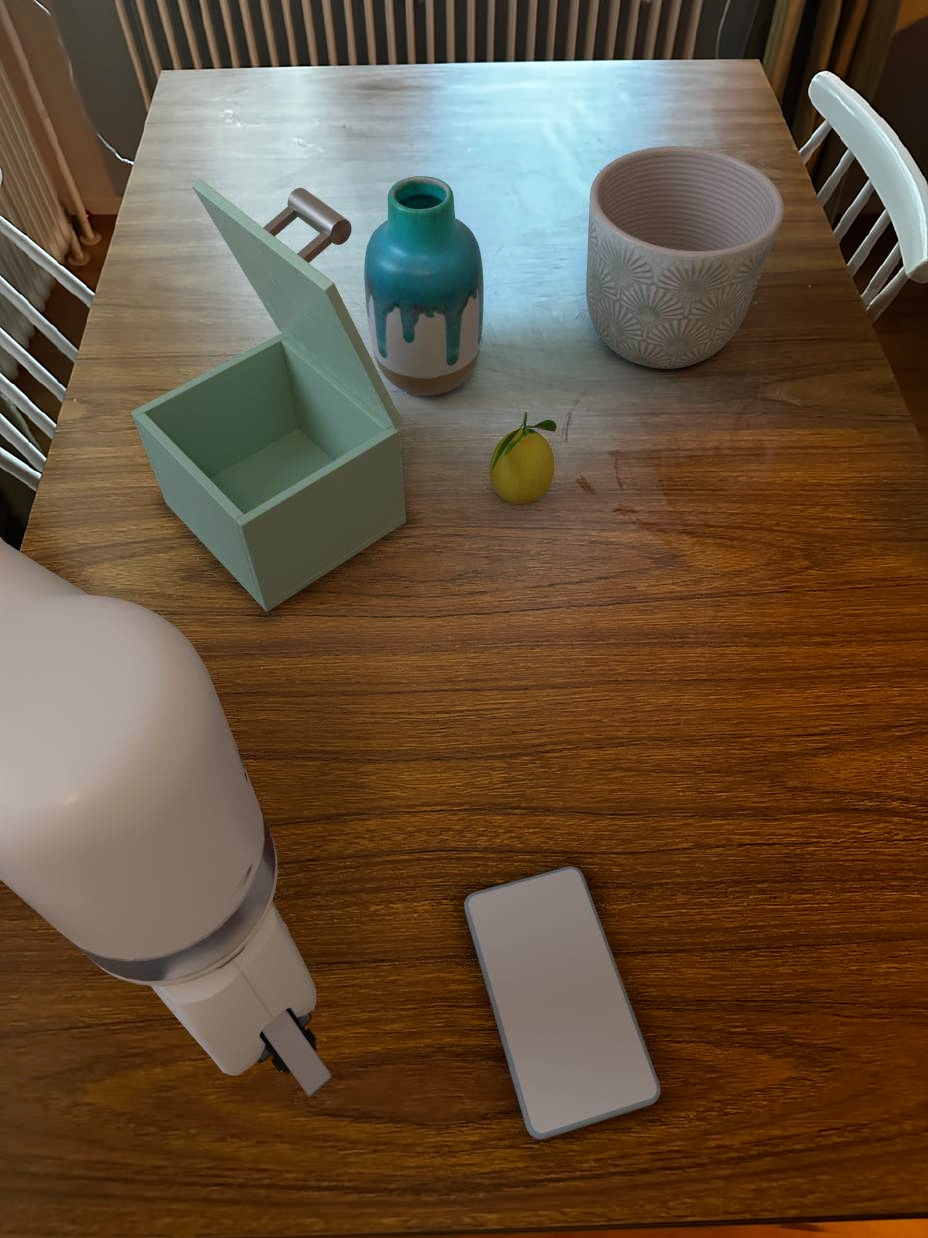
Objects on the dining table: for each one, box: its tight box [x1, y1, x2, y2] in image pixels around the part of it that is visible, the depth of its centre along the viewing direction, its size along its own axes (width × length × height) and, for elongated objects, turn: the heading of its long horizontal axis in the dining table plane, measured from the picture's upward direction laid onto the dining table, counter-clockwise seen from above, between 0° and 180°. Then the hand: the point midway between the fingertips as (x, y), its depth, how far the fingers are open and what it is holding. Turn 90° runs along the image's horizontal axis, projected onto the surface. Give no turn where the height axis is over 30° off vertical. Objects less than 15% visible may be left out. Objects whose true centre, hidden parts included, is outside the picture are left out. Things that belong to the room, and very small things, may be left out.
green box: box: [130, 332, 407, 613], centre depth 79 cm, size 15×16×11 cm
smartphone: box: [463, 865, 661, 1141], centre depth 60 cm, size 8×1×15 cm
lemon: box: [489, 411, 558, 505], centre depth 80 cm, size 7×6×10 cm
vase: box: [363, 175, 485, 396], centre depth 85 cm, size 11×11×19 cm
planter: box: [585, 145, 785, 370], centre depth 90 cm, size 17×17×15 cm
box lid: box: [191, 178, 403, 429], centre depth 70 cm, size 15×16×6 cm
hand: (248, 988), depth 48 cm, fingers closed on pill bottle, 5 cm apart
